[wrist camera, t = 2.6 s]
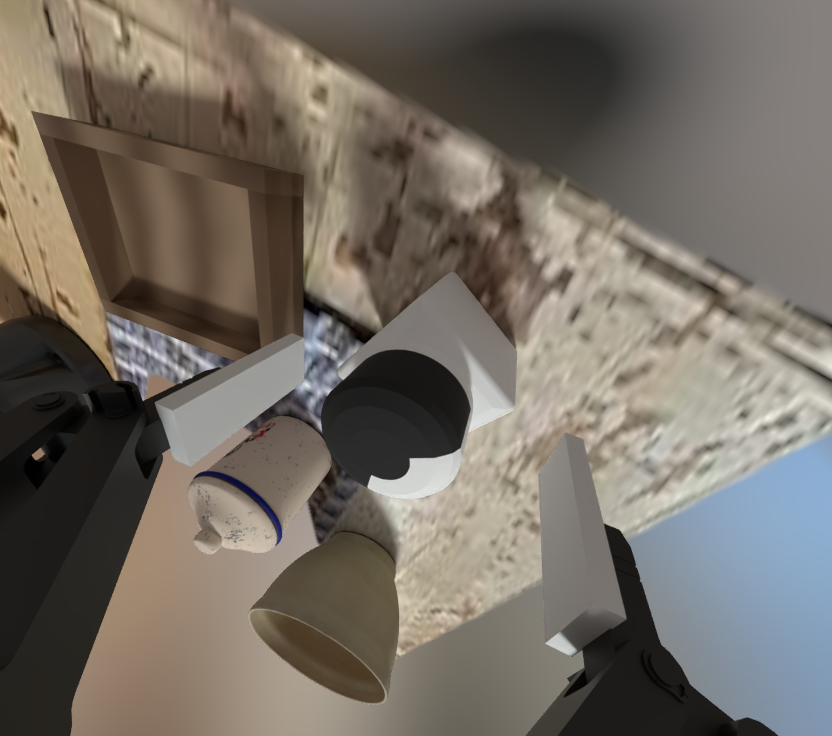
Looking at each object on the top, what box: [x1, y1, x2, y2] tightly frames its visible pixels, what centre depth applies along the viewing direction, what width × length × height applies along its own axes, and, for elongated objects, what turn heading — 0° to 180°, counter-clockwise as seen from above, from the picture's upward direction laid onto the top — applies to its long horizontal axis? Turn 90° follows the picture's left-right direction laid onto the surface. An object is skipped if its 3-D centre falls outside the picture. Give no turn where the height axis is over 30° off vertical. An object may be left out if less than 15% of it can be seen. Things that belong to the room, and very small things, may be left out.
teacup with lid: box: [188, 416, 332, 554], centre depth 28 cm, size 12×9×12 cm
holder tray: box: [31, 111, 303, 361], centre depth 23 cm, size 18×14×4 cm
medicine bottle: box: [321, 272, 517, 499], centre depth 16 cm, size 7×7×12 cm
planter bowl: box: [248, 532, 399, 705], centre depth 34 cm, size 16×16×11 cm
